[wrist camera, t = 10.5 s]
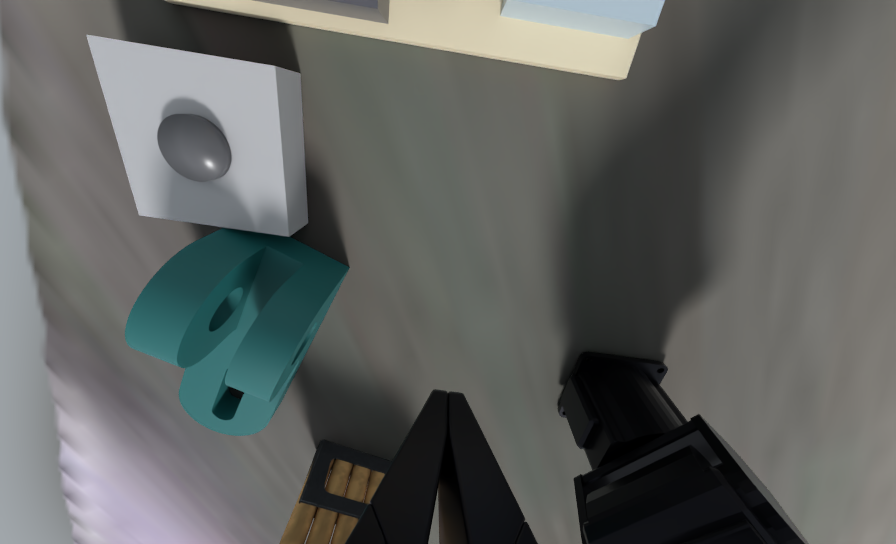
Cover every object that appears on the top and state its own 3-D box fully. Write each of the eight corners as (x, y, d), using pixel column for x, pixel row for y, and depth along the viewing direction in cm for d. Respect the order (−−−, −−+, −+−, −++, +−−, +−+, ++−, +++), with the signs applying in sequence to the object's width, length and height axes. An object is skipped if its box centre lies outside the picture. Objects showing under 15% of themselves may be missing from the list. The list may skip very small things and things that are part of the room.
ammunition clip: (316, 450, 29) (234, 643, 18) (321, 438, 29) (239, 633, 18) (421, 483, 31) (402, 677, 20) (428, 473, 30) (413, 668, 20)
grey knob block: (300, 73, 16) (267, 63, 13) (308, 223, 20) (283, 240, 17) (139, 46, 16) (70, 31, 13) (176, 203, 19) (128, 218, 16)
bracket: (250, 215, 20) (135, 269, 13) (350, 266, 21) (297, 340, 14) (193, 393, 27) (97, 492, 20) (271, 422, 28) (208, 525, 21)
